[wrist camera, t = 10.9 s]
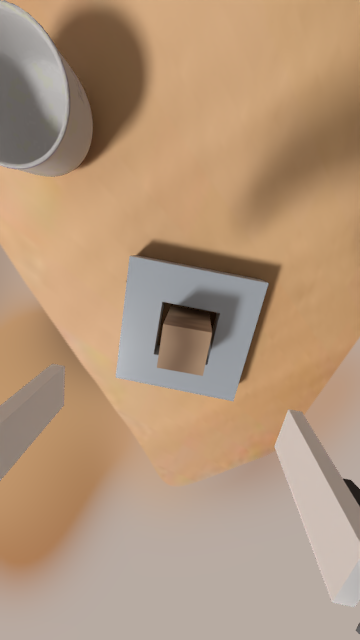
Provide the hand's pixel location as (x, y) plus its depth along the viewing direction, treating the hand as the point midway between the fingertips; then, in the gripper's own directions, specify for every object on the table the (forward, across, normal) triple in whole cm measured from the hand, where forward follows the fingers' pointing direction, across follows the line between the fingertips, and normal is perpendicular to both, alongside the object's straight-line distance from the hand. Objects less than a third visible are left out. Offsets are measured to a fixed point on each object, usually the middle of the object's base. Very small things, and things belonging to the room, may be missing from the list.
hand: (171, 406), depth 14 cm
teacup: (+19, -20, +19) cm, 33 cm away
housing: (+19, 0, -2) cm, 19 cm away
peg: (+19, 0, -2) cm, 19 cm away
